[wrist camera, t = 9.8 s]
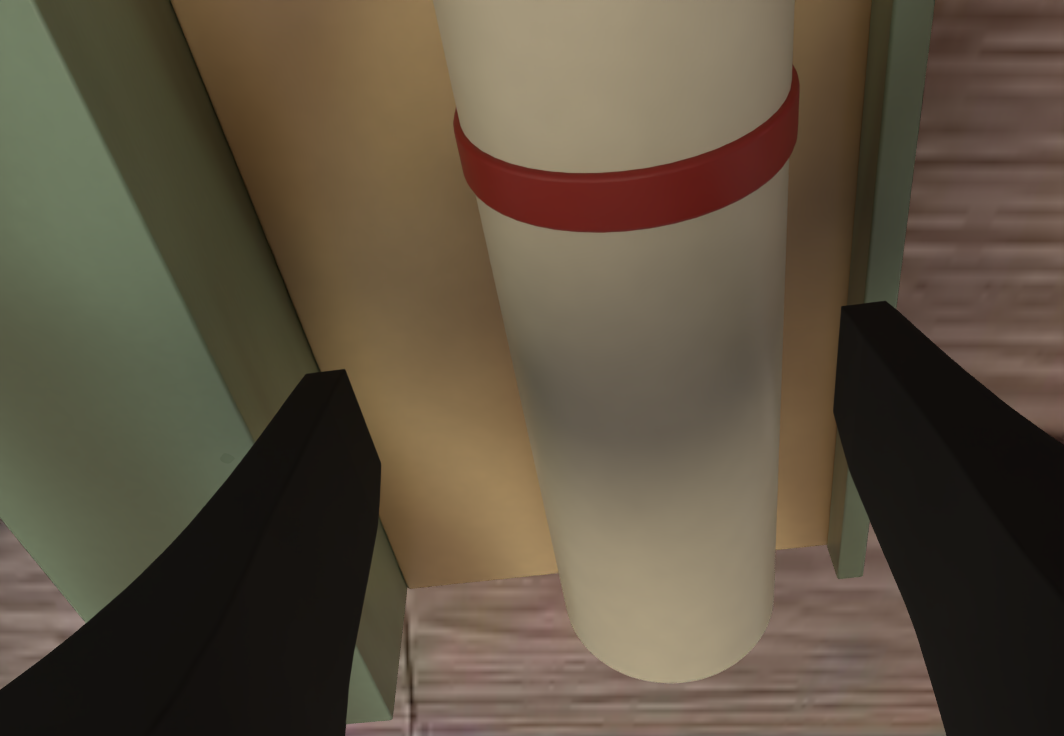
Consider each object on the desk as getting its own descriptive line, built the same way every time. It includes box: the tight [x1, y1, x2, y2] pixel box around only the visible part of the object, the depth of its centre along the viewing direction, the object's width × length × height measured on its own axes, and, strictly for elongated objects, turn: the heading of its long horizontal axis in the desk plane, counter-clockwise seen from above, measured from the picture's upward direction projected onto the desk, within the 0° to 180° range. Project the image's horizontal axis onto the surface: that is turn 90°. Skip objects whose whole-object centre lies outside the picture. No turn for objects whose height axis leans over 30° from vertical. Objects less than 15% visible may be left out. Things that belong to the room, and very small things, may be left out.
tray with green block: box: [0, 0, 935, 724], centre depth 16 cm, size 16×19×6 cm
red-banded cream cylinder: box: [433, 0, 800, 683], centre depth 15 cm, size 15×5×5 cm, turn 9°
